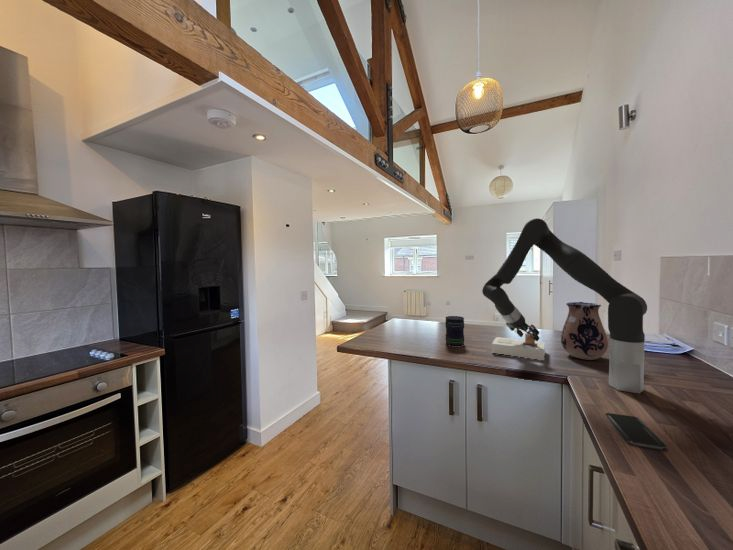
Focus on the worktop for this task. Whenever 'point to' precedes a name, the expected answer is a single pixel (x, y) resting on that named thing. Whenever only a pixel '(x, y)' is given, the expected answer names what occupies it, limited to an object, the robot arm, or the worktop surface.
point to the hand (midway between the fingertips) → (529, 337)
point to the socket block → (518, 348)
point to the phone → (635, 431)
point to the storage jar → (454, 330)
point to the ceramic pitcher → (584, 332)
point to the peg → (529, 340)
